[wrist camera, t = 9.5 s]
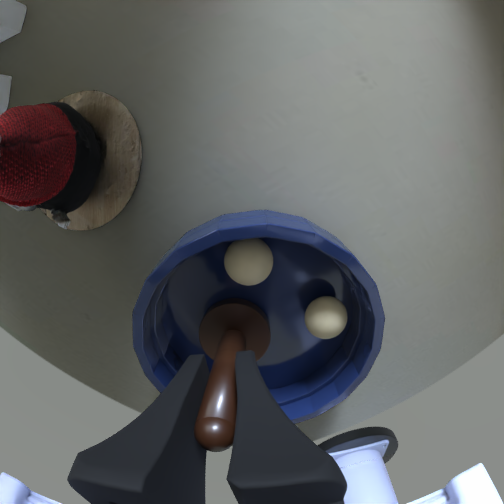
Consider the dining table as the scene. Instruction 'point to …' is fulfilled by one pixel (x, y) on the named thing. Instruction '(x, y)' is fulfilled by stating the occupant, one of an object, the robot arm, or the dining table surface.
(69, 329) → the dining table surface
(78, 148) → the figurine
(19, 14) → the tape dispenser
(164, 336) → the bowl
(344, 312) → the dumpling
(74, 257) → the dining table surface
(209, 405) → the brown plunger
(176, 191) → the dining table surface
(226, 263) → the dumpling
